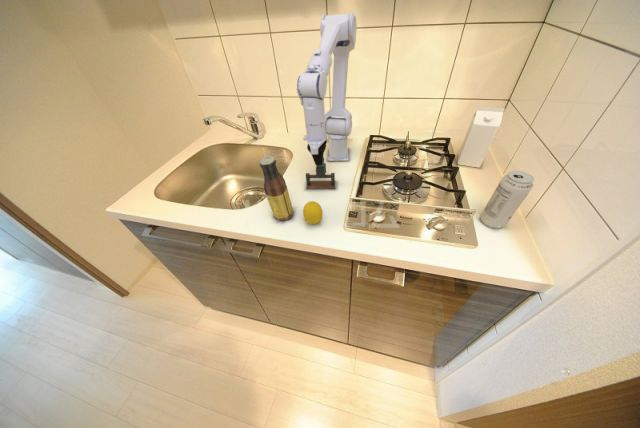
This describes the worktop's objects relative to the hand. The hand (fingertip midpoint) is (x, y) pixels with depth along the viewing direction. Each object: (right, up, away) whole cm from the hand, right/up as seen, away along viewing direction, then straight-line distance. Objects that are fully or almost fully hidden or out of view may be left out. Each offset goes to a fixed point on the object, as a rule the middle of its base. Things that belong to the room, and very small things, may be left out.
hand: (319, 163), depth 74 cm
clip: (+1, -3, +3) cm, 5 cm away
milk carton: (+55, +3, +10) cm, 56 cm away
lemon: (-1, -19, -6) cm, 20 cm away
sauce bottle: (-11, -17, -3) cm, 21 cm away
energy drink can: (+47, -19, -11) cm, 52 cm away
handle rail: (+1, -6, +6) cm, 9 cm away
